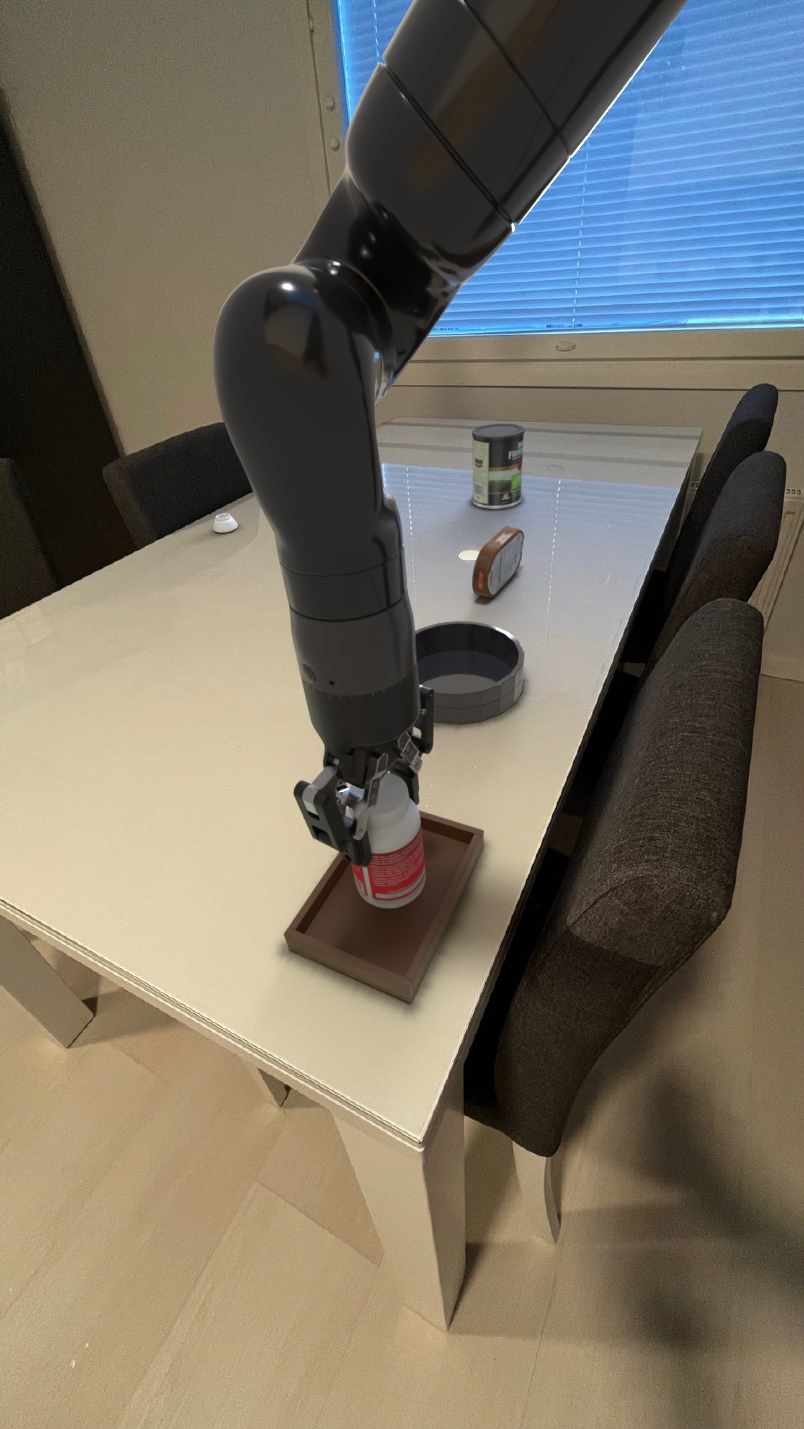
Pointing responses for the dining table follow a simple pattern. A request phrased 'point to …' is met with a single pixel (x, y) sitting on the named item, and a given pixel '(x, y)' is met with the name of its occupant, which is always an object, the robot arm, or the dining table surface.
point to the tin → (497, 561)
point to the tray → (388, 914)
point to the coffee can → (497, 465)
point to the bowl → (469, 669)
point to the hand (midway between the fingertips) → (383, 829)
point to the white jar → (224, 523)
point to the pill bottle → (392, 847)
